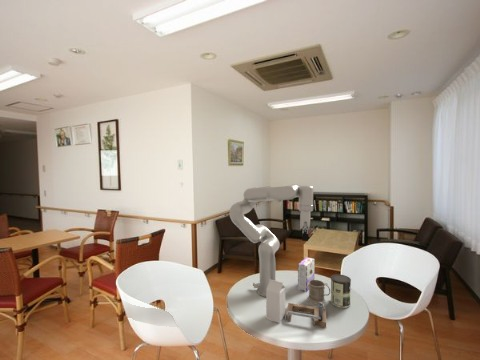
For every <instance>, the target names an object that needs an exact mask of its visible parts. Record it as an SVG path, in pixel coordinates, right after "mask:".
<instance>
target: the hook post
mask: <svg viewBox="0 0 480 360" xmlns="http://www.w3.org/2000/svg"><path fill="white" fill-rule="evenodd" d="M318 308H319V316H320V317H321V319H319V320H320V321H322V320H323V308H324V304H323V302H319V304H318Z"/></svg>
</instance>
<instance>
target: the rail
mask: <svg viewBox="0 0 480 360" xmlns="http://www.w3.org/2000/svg"><path fill="white" fill-rule="evenodd" d="M290 314H291V315H292V316H298V317H304V318H310V319H314V318H315V319H321V317H320V316H316V315H314V314H311V313H305V312H299V311H288V313H287V322H290V321H289V315H290Z"/></svg>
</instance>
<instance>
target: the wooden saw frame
mask: <svg viewBox="0 0 480 360" xmlns="http://www.w3.org/2000/svg"><path fill="white" fill-rule="evenodd" d="M288 311H292V312H300V313H306V314H312V315H316V316H319V306H318V307H316V306H310V305H303V304H298V303H291V302H288V303H287V308H286V310H285V321H287V313H288ZM292 317H293V315H291V314H290V315H289V321H287V322H291V321H292ZM313 326H314V327H320V328H325V329H326V328H327V309H326V308H325V307H323V320H322V321H320V320H319V319H315V318H313Z"/></svg>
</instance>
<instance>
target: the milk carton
mask: <svg viewBox="0 0 480 360" xmlns="http://www.w3.org/2000/svg"><path fill="white" fill-rule="evenodd" d="M265 299H266V306H265V307H266V313H265V317H266V319H267V320H268V321H269V320H270V321H272V322H275V323H278V324H281V322H282V320H283V319H284V317H286V286H284V282H282V281H278V280H276V279H275V280H271V279H269V284H268V286H267V289H266V298H265Z"/></svg>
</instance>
